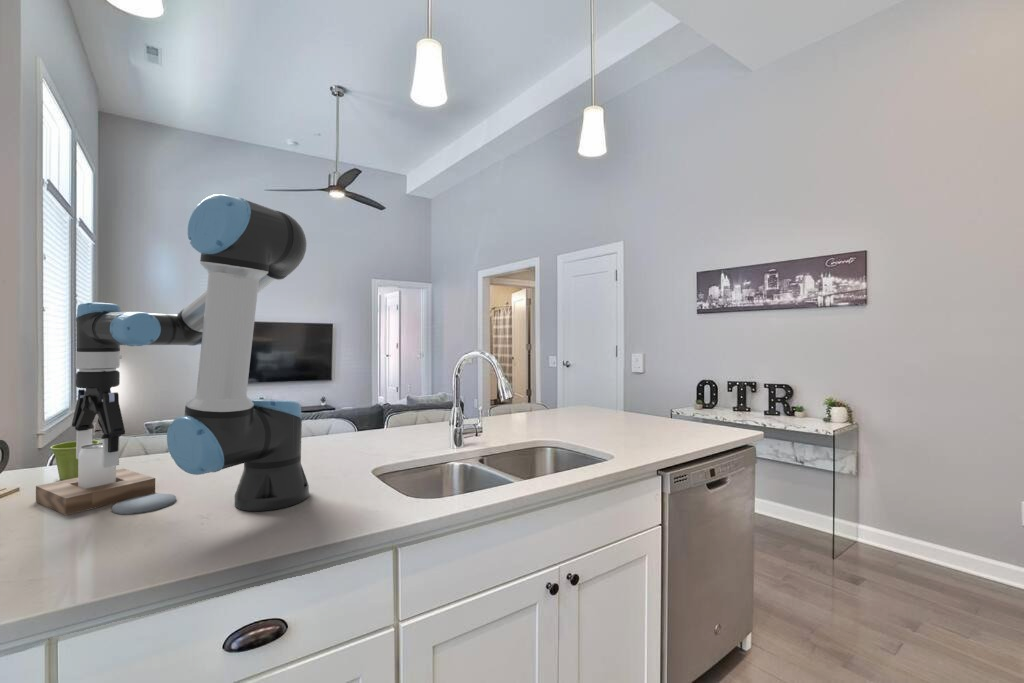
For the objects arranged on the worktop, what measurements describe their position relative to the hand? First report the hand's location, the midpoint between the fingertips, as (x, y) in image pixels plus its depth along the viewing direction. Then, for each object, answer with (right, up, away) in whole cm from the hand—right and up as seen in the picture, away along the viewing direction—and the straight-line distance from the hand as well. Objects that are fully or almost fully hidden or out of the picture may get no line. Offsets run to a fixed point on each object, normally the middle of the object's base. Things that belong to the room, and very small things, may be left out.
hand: (97, 462), depth 106 cm
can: (0, -8, 0) cm, 8 cm away
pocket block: (0, -8, 0) cm, 8 cm away
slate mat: (+15, -8, -5) cm, 17 cm away
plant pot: (-19, -8, +15) cm, 26 cm away
